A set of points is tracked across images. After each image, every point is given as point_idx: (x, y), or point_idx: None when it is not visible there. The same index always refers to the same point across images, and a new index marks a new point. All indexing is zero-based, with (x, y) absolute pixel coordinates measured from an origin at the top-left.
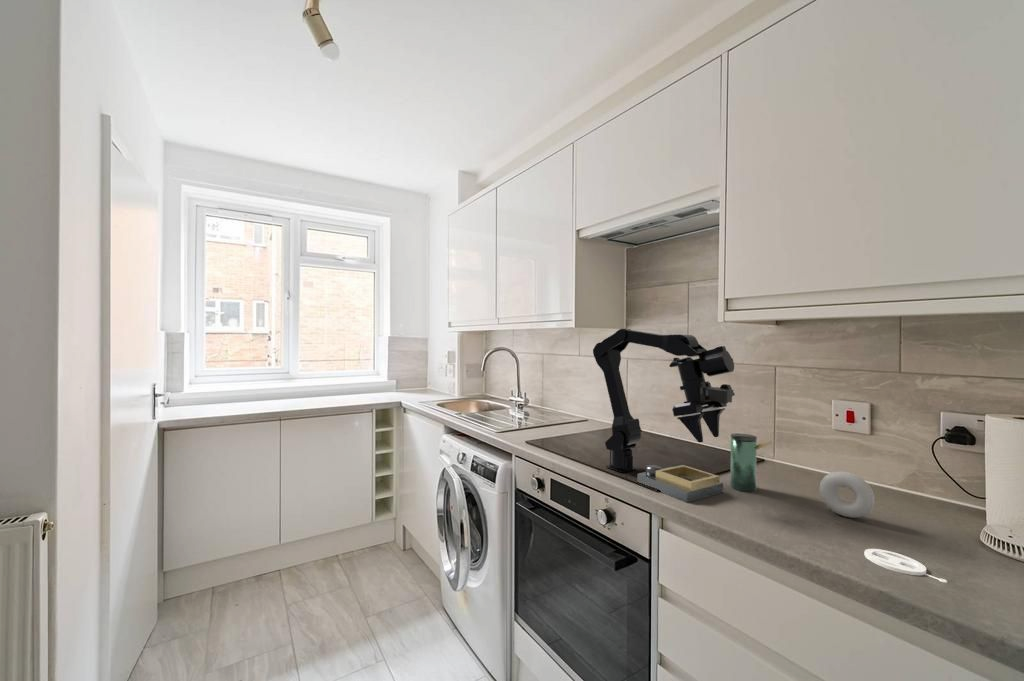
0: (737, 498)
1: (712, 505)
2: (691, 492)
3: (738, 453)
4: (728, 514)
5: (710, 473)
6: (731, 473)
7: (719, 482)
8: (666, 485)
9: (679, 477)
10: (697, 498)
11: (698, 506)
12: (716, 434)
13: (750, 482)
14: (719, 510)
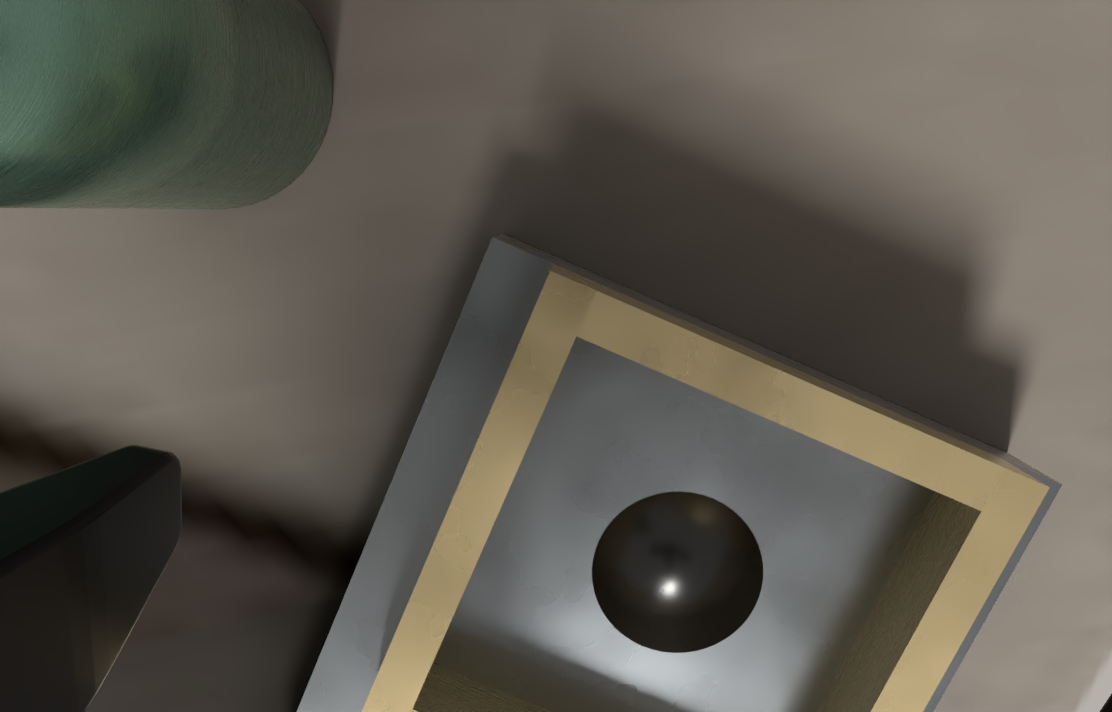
0: (584, 79)
1: (941, 245)
2: (992, 453)
3: (105, 33)
4: (1101, 74)
5: (506, 384)
6: (212, 187)
7: (498, 272)
8: (928, 705)
9: (908, 644)
10: (876, 396)
11: (1046, 346)
12: (143, 512)
13: None
14: (1041, 164)
